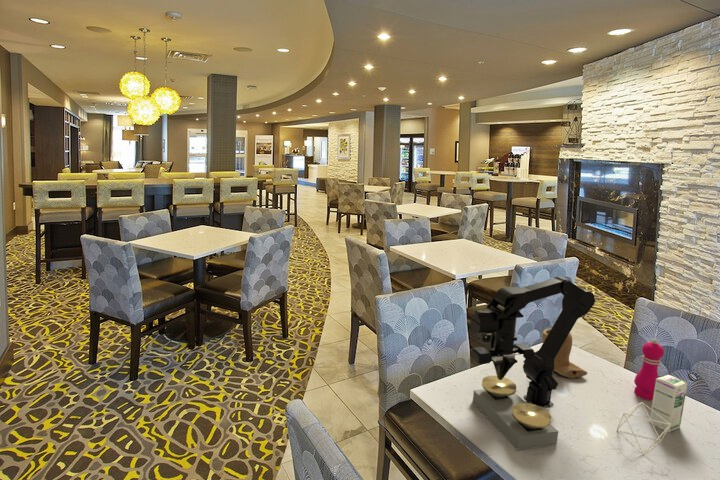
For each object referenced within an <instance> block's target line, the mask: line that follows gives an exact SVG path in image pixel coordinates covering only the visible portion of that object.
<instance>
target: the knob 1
mask: <svg viewBox="0 0 720 480" xmlns="http://www.w3.org/2000/svg"><path fill="white" fill-rule="evenodd" d="M481 387H482V389H485V390H486V391H488V392H489V393H491V394H490V395H491V396H492V397H493V398H494V399H495V400H499V399H505V396H510V395H513V394H514V393H516V392H517V384H516V383H515V382H514V381H513V380H511V379H509V378H507V377H504V378H503V379H502V380H499V379H498V377H497V375H488V376H485V377H483V378H482V382H481Z"/></svg>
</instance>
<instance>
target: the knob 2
mask: <svg viewBox="0 0 720 480" xmlns="http://www.w3.org/2000/svg"><path fill="white" fill-rule="evenodd" d="M512 416H513V417H514V419H515V420H517V421H518V422H519V423H521V426H522V427H523V428H524V429H525V430H526V431H527V432H530V431H537V430H538V428H544V427H547V426H549V425H550V424H551V423H552V415H551V413H550V412H549V410H547V409H546V408H544V407H540V406H538V405H535V404H532V403H530V402H529V403H528V402H526V403H518V404H516V405H514V406H513V408H512Z"/></svg>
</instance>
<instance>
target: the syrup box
mask: <svg viewBox="0 0 720 480" xmlns="http://www.w3.org/2000/svg"><path fill="white" fill-rule="evenodd" d="M658 377H659V376H658ZM687 388H688V382H687V381H684V380H683V379H681V378H678V377H675V376H673V375H670V374H667V375H662V376H660V377H659V378H656V383H655V389H654V395H653V400H652V403H651V407H650V408H651V409H652V410H653V411H654V412H653V411H652V410H651V409H650V415H649V417H650V419H651V420H656V421H660V422H664V423H667V422H669V423H670V424H671V426H670V428H669V429H668V431H667V433H671V432H672V431H675V430H678V429H680V428H681V424H682V416H683V411H684V405H685V402H686V401H685V400H686V393H687V390H688V389H687ZM655 412H656V413H657V414H658V415H660V416H661V417H662V418H664V419H665V420H666V421H667V422H666V421H665V420H664V419H662V418H661V417H660V416H658V415H657V414H656V413H655ZM648 421H649V423H650V424H652V423H653V425H654V427H657V428H659V429H660V430H663V431H664V430H665V429H666V428H667V427H668V426H669V425H668V424H669V423H668V424H664V423H660V422H655V421H652V423H651V421H650V420H648ZM653 425H652V426H653Z"/></svg>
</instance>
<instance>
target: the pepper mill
mask: <svg viewBox="0 0 720 480" xmlns="http://www.w3.org/2000/svg"><path fill="white" fill-rule="evenodd" d="M658 341H659V340H658V339H657V338H652V339H651V341H649V342H645V343H644V344H643V346H642V347H641V352H642V354H643V355H642V357H641V359H642V361H643V363H642V367H641V369H640V370H639V371H638V373H637V374H635V377H634V384H635V387H634V391H633V393H634V395H635V396H637V397H638V398H639V399H642V400H646V401H653V395H654V389H655V383H656V378H659V374H658V367H659V365H660V364H661V361H662V360H661V358H663V357H664V354H665V350H664V348H663V346H662V345H661V344H659V342H658Z"/></svg>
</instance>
